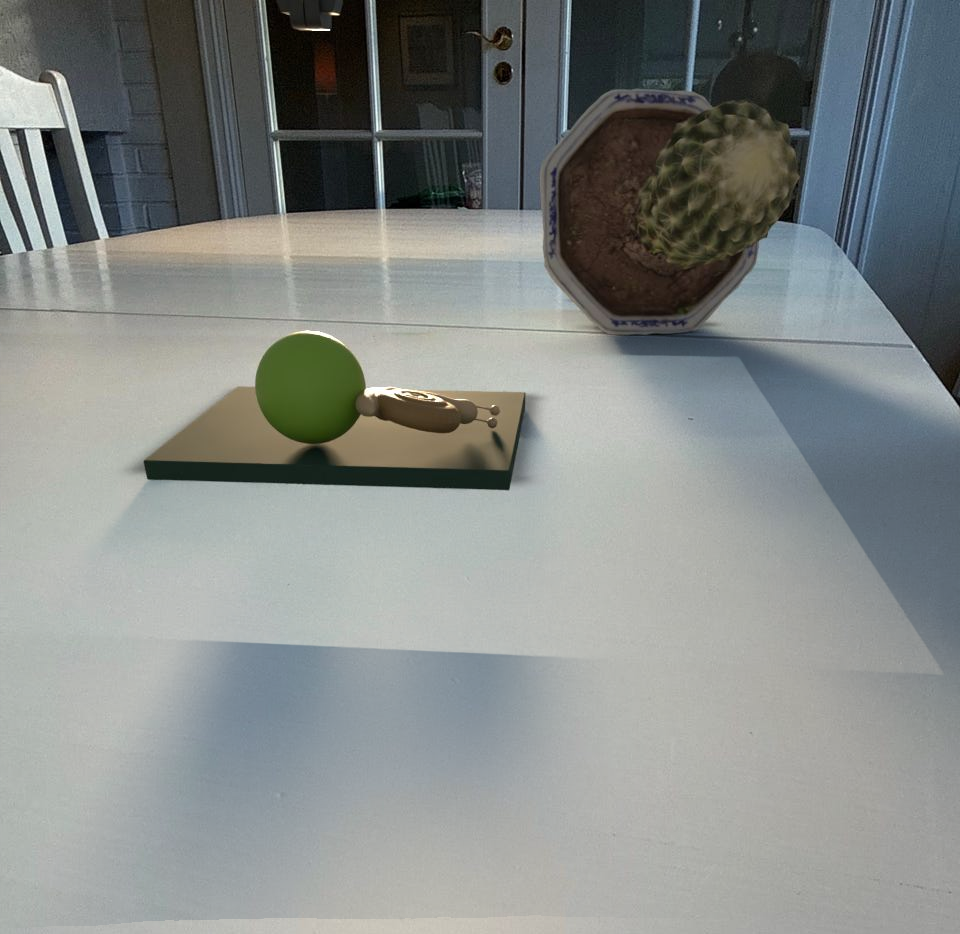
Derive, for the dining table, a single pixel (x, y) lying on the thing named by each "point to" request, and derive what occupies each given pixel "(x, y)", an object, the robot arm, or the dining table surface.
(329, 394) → the snail figurine
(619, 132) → the potted plant
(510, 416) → the mat
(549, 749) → the dining table surface
